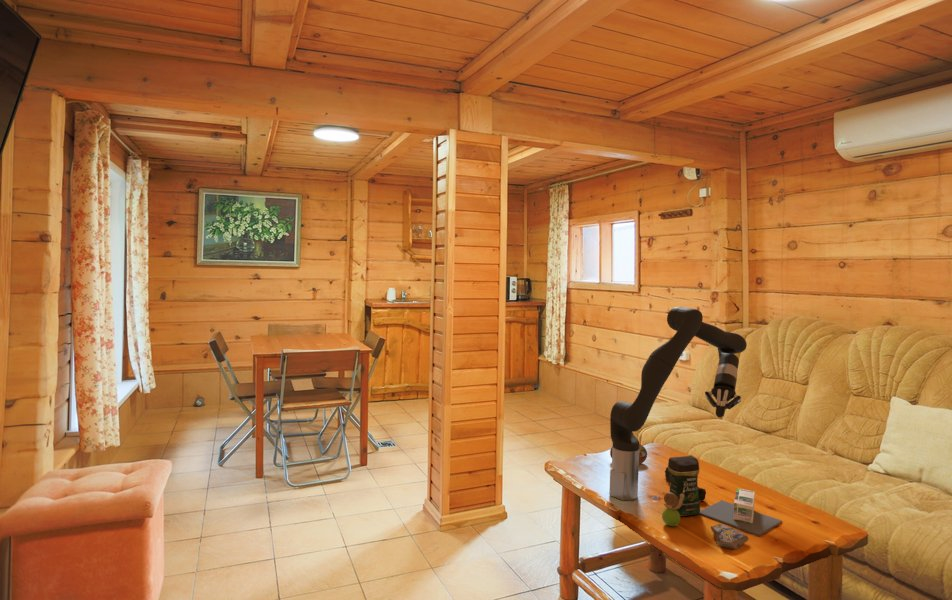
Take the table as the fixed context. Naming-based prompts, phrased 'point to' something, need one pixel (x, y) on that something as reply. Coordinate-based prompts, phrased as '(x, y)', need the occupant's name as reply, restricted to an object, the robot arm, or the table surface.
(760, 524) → the charcoal mat
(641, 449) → the tin
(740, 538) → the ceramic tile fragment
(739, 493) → the syrup box
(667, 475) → the hand tool
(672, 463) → the coffee jar
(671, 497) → the snail figurine
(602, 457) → the table surface
